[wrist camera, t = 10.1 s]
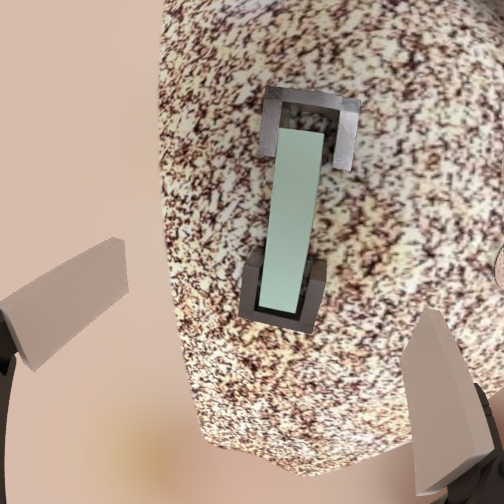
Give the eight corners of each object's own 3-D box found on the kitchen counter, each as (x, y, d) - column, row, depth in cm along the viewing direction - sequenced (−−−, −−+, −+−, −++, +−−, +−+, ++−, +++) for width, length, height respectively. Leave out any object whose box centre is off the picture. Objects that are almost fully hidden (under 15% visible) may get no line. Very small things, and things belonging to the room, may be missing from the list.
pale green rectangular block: (289, 132, 26) (279, 127, 20) (324, 137, 25) (323, 133, 19) (271, 278, 32) (258, 305, 26) (301, 284, 31) (295, 313, 26)
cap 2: (314, 308, 31) (311, 333, 27) (250, 293, 33) (237, 316, 28) (327, 261, 29) (326, 282, 25) (256, 246, 31) (243, 264, 26)
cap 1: (276, 96, 24) (265, 86, 20) (354, 108, 23) (360, 100, 18) (269, 153, 27) (257, 154, 22) (346, 167, 25) (350, 171, 21)
